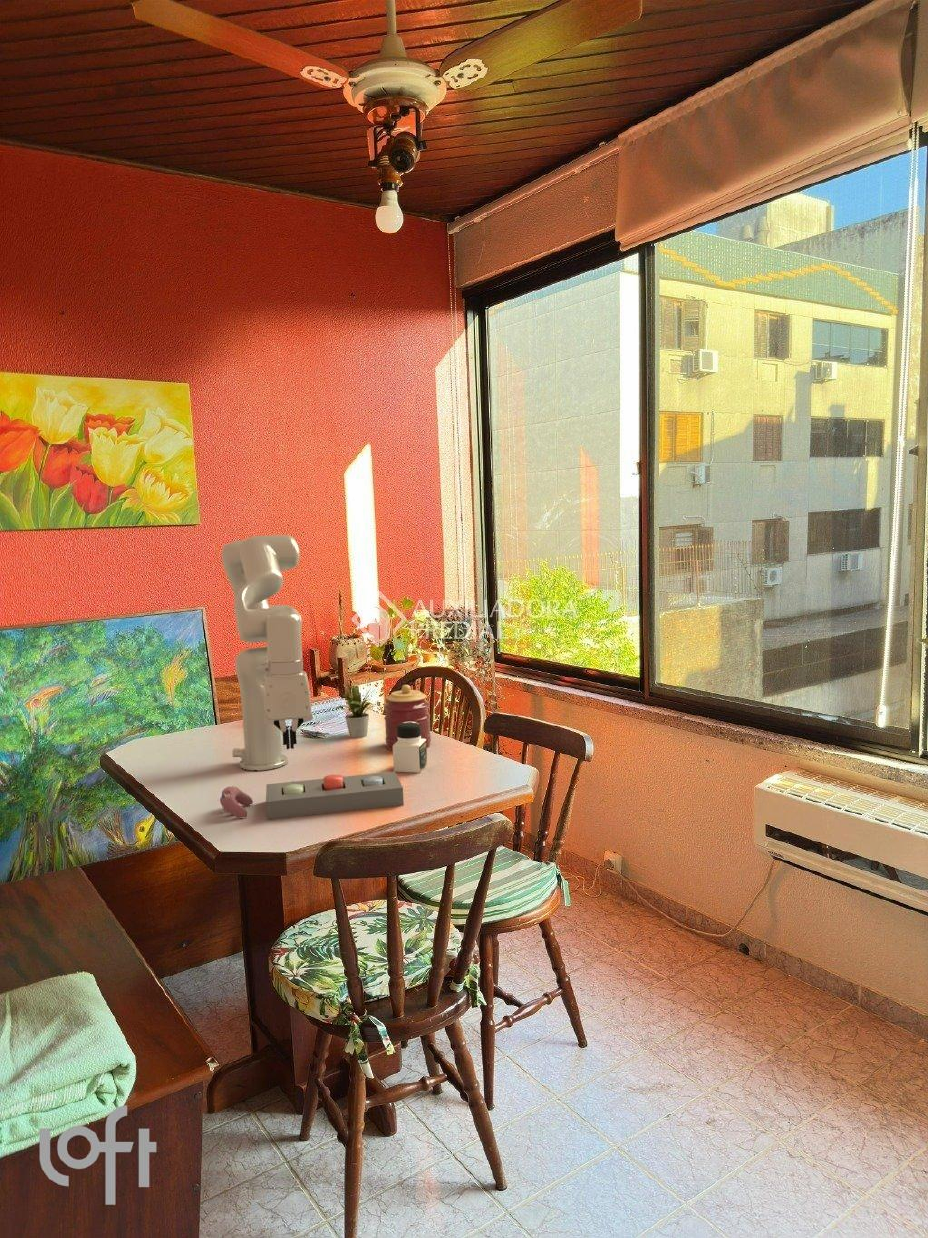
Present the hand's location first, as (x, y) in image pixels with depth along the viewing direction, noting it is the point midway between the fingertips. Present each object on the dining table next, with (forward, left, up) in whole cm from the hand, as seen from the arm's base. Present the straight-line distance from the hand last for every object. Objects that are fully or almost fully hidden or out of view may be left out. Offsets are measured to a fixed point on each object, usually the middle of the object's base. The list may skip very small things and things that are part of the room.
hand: (290, 747), depth 191 cm
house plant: (-8, +63, -14) cm, 65 cm away
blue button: (+17, +7, -12) cm, 22 cm away
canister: (+12, +53, -14) cm, 56 cm away
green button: (0, -1, -12) cm, 12 cm away
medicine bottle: (+19, +31, -14) cm, 39 cm away
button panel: (+9, +3, -14) cm, 17 cm away
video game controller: (-11, -5, -14) cm, 19 cm away
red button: (+9, +3, -11) cm, 14 cm away
